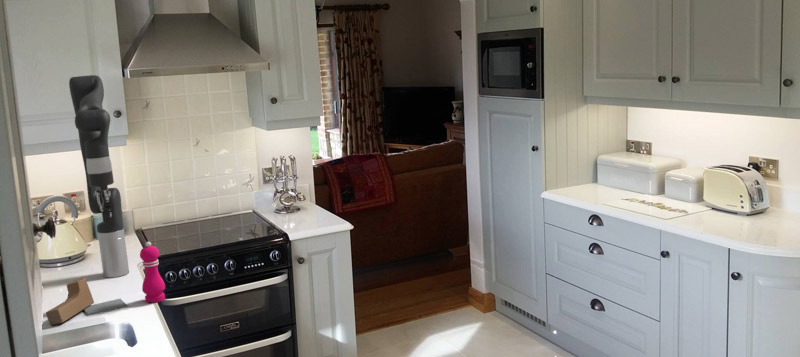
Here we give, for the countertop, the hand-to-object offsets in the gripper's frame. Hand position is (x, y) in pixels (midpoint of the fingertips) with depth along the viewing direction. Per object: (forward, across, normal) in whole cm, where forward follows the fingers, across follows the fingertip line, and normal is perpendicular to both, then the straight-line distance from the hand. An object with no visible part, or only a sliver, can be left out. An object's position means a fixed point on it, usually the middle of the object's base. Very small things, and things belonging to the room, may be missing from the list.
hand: (107, 221), depth 238 cm
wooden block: (+22, 0, +10) cm, 24 cm away
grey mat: (+26, -8, +6) cm, 28 cm away
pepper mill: (+27, -12, -9) cm, 31 cm away
